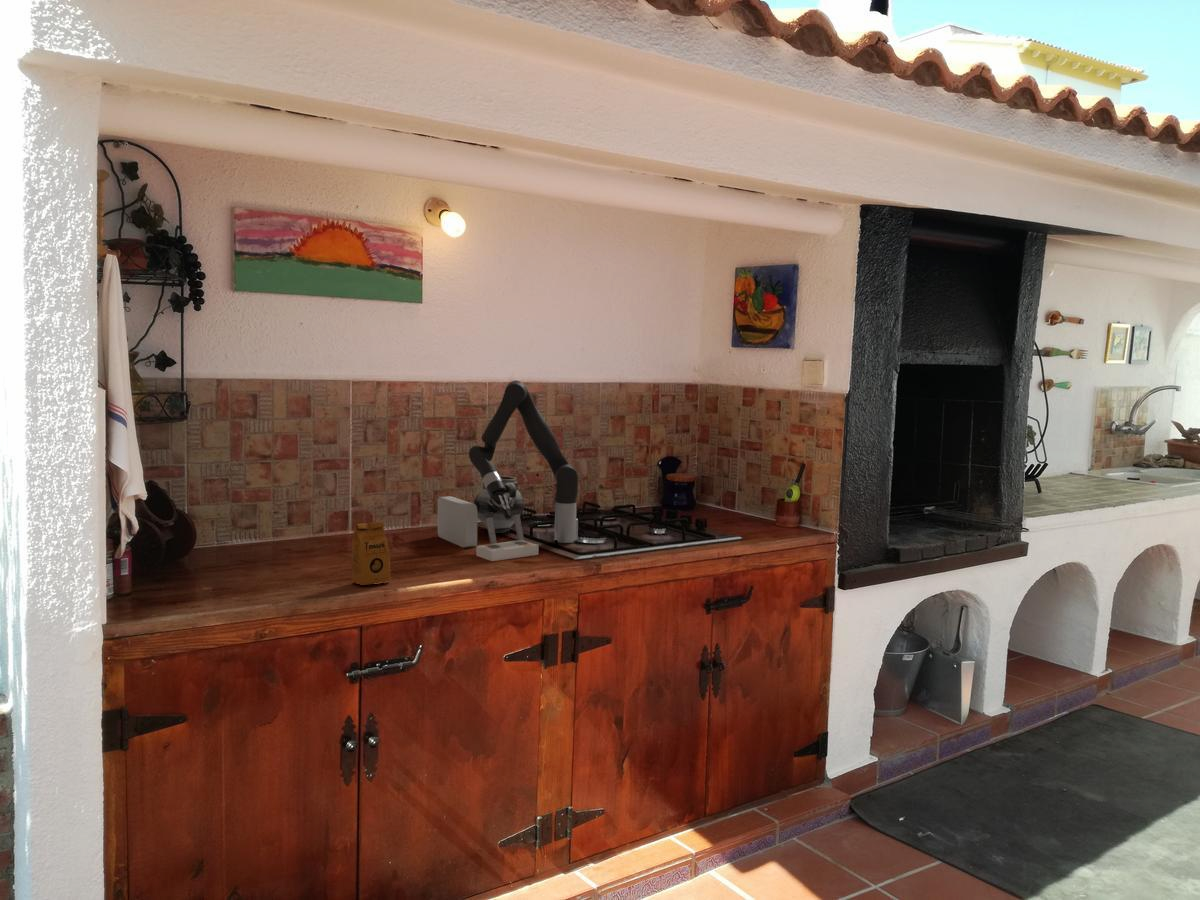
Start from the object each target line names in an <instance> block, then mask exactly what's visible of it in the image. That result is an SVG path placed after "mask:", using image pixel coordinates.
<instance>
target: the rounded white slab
mask: <svg viewBox="0 0 1200 900" xmlns="http://www.w3.org/2000/svg"><path fill="white" fill-rule="evenodd" d="M437 536H438V537H439V538H440V539H443V540H445V541H447V542H450V543H452V544H454V545H457V546H458V547H461V548H473V547H476V546H478V545H477V544H478V516H477V507H476V505H475V504H474V502H473V503H472V502H469V501H466V500H465V499H464V500H463V499H461V498H458V497H454V496H451V495H450V496H449V495H447V496H439V497H438V499H437Z"/></svg>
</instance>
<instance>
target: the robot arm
mask: <svg viewBox="0 0 1200 900" xmlns="http://www.w3.org/2000/svg"><path fill="white" fill-rule="evenodd" d="M516 409H517V410H518V412H519V413H520V416H521V417H522V421H523V423H524V427H525V429H526V432H527V434H528V435H529V437H530V439H531V440H532V442H533V443H534V445H535V447H536V448H537V450H538V451H539V453H540V454H541V455H542V456H543V458H544V459H545V460H546V462H547V464H548V465H549V468H550V470H551V472H552V474H553V477H554V479H555V481H556V488H555V489H556V492H555V499H554V502H555V504H554V507H555V508H554V541H555V540H557V541H558V542H557V543H560V544H569V543H575V542H576V541H575V540H579V539H578V538H579V535H578V534H579V533H578V531H579V519H578V518H577V498H578V489H579V488H578V487H579V485H578V484H579V476H578V475H579V474H578V472H577V470H576V469H575V468H574V467H573V466H572V465H571V463H569V461H568V460H567V459H566V457H565V456H564V455H563V453H562V451H561V448H560V446H559V444H558V441H557V439H556V437H555V434H554V433H553V432H554V431H552V429H551V427H550V426H549V424H548V423H547V421H546V419H545V418H544V417H543V415H542V414H541V412H540V411H539V409H538V408H537V407H536V405H535V403H534V401H533V399H532V396H531V394H530V392H529V390H528V387H527V386H526V384H524V383H523V382H522V381H520V380H512V381H510V382H509V383H508V384H507V386H506V387H505V389H504V393H503V396H502V399H501V402H500V404H499V407H498V408H497V410H496V412H495V414H494V415H493V416H492V418H491V419H490V421H489V423H488V425H487V426H486V428H485V429H484V431H483V433H482V435H481V438H480V439H481V441H482V442H483V443H484V445H483V446H480V445H474V446H471V448H469V451H468V457H469V460H470V462H471V464H472V465H473V467H474V468H475V469H476V470H477V471H478V472H479V475H480V477H481V479H482V481H483V482H484V485H485V487H486V489H487V492H488V494H489V496H490V498H491V499H490V501H489V502H488V505H490V506H491V507H492V508H494V509H495V510H497V511H498V512H500V511H501V512H502V513H503V514H504V516H505V518H506V519H511V517H512V515H511V512H510V510H511V509H512V507H513V505H514V502H515V498H514V497H513V498H511V497H509V495H508V494H507V491H506V488H505V486H504V484H503V481H502V479H501V477H500V476H501V475H500V474H499V472H498V471H497V468H496V466H495V464H494V463H493V462H491V461H492V460H493V457H494V455H495V450H496V447H497V443H498V441H499V440H500V438H501V436H502V434H503V432H504V431H505V429H506V427H507V424H508V422H509V420H510V419H511V417H512V415H513V414H514V412H515V410H516ZM483 482H482V483H483ZM508 500H509V503H510V504H509V503H508ZM496 506H497V507H498V508H497V507H496ZM574 541H575V542H574Z"/></svg>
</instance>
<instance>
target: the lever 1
mask: <svg viewBox="0 0 1200 900" xmlns="http://www.w3.org/2000/svg"><path fill="white" fill-rule="evenodd" d="M492 517H494V514H493V512H488V513H485V514H484V519H486V521H487V527H488V531H487V532H488V538H489V544H495V543H498V541H497V537H496V533H495V530H494V524H493V518H492ZM487 527H486V528H487Z"/></svg>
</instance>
